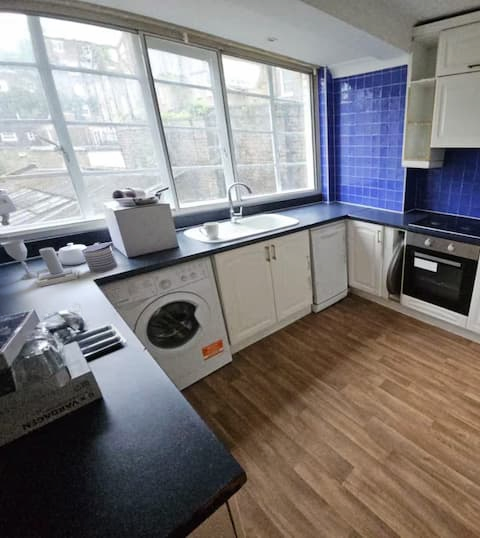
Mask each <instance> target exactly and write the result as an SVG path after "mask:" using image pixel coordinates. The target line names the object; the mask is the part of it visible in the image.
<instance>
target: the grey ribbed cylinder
mask: <svg viewBox="0 0 480 538" xmlns="http://www.w3.org/2000/svg"><path fill="white" fill-rule="evenodd" d="M86 247H87V248H85V249H83V250H81V251H82V253H83V255H84V257H85V260H86V262H85V263H86V264H87V267H88V269H89V271H90V273H94V274H98V273H105V272H108V271H112V270H115V269H116V268H118V266H119V264H118V261H117V259H116V256H115V253H114V251H113V248H112V246H111V243H109V242H103V243H98V244H97V245H94V244H93V245H90V246H86Z"/></svg>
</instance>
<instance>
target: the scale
mask: <svg viewBox="0 0 480 538" xmlns="http://www.w3.org/2000/svg"><path fill="white" fill-rule="evenodd" d="M63 270H64V271H63V272H62V273H59V274H50V272H49V271H47V272H42V273H41V274H39V275H38V278H37V281H36V285H37V286H38V287H39V288H42V287H45V286H49V285H54V284H60V283H64V282H68V281H72V280H76V279H78V274H79V271H78V268H77V267H76V266H75V267H74V266H72V267H67V268H63Z"/></svg>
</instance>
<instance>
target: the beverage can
mask: <svg viewBox="0 0 480 538" xmlns="http://www.w3.org/2000/svg"><path fill="white" fill-rule="evenodd" d="M38 251H39V254H40V256H41V258H42V260H43V262H44V264H45V266H46V268H47V270H48V272H50V274H59V273H62V272H63V271H64V270H63V269H64V268H63V266H62V263H60V261H59V259H58V254H57V253H56V252H57V251H56V250H55V248H54V247H51V246H50V247H44V248H40V249H39V250H38Z"/></svg>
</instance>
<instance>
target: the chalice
mask: <svg viewBox="0 0 480 538" xmlns="http://www.w3.org/2000/svg"><path fill="white" fill-rule="evenodd" d="M0 245H1V246H3V247H4V248H3V249H4V250H5V251H6V253H7V255H9V256H10V257H11V258H12V259H14V260H16V262H17V261H18V262H20V263H21V266H23V270H25V272H24V273H23V278H22V279H23V280H30V279H34V278H37V277H39V274H37V273H36V272H34V271H31V270H29V266H27V263H26V261H25V260H26V259H27V256H28V249H27V247H26V245H25V243H24V239H22V238H21V239H12V240H8V241H4V242H0Z"/></svg>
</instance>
